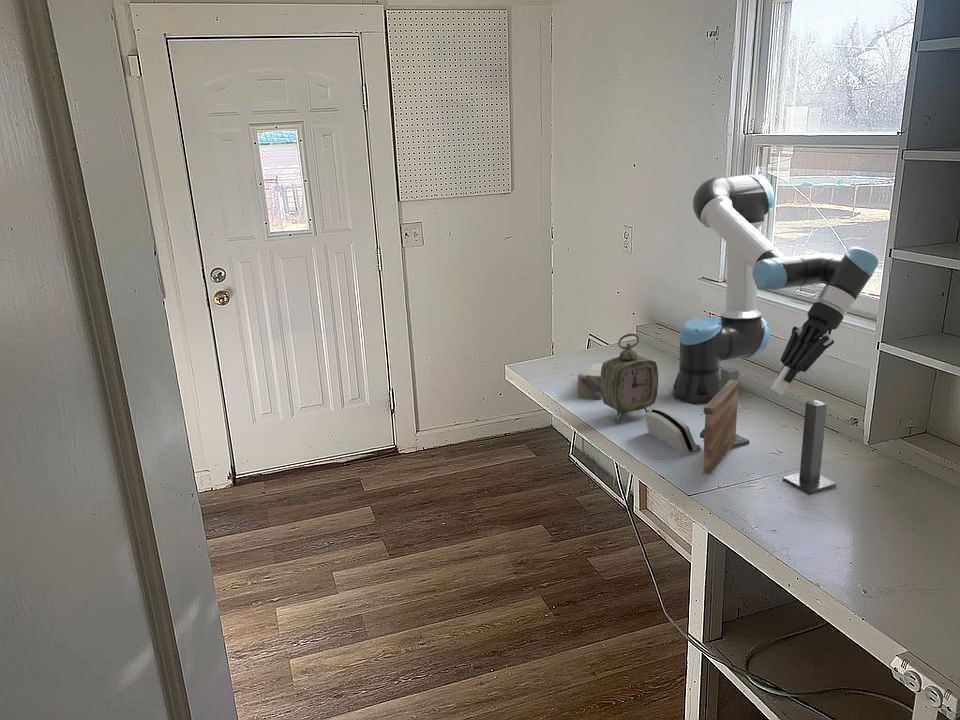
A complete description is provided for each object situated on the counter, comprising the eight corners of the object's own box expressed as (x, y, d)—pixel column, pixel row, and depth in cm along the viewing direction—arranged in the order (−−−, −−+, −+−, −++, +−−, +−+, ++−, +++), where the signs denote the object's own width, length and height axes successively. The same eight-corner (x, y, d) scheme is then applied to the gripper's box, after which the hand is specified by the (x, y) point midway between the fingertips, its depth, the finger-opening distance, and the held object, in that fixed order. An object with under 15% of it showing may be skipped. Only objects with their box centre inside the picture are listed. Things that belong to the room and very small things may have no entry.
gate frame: (727, 433, 201) (731, 362, 195) (836, 487, 170) (844, 405, 164) (703, 439, 198) (706, 368, 192) (809, 495, 167) (817, 412, 161)
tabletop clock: (615, 427, 209) (616, 341, 201) (597, 417, 216) (597, 334, 209) (657, 416, 214) (659, 333, 207) (638, 407, 222) (639, 326, 215)
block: (592, 379, 248) (592, 356, 246) (616, 381, 245) (616, 358, 243) (576, 398, 232) (576, 374, 230) (602, 401, 229) (602, 376, 226)
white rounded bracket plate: (702, 451, 191) (692, 419, 187) (687, 460, 190) (677, 429, 186) (663, 428, 206) (654, 399, 202) (650, 437, 205) (639, 407, 201)
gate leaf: (736, 442, 192) (740, 380, 187) (711, 475, 175) (714, 409, 170) (724, 439, 193) (727, 378, 188) (697, 473, 177) (700, 406, 171)
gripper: (859, 321, 174) (803, 406, 176) (822, 311, 186) (770, 391, 188) (837, 305, 171) (781, 391, 173) (801, 296, 184) (749, 378, 186)
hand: (775, 391), depth 181 cm, fingers closed
